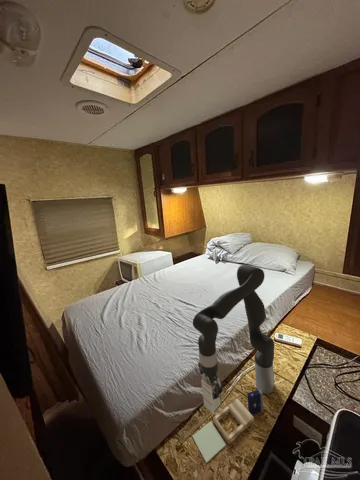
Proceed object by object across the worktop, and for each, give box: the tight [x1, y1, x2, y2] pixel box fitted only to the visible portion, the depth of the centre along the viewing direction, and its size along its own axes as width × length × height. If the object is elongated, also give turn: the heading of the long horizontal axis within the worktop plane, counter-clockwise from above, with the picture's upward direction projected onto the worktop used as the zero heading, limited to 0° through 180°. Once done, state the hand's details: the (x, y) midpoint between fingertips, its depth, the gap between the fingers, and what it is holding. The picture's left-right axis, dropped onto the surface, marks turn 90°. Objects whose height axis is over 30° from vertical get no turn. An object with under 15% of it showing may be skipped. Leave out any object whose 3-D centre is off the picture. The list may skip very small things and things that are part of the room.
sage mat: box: [192, 421, 227, 464], centre depth 89 cm, size 11×11×1 cm
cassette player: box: [247, 389, 265, 416], centre depth 97 cm, size 7×2×12 cm, turn 103°
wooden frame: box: [212, 398, 255, 445], centre depth 95 cm, size 16×11×2 cm, turn 119°
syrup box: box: [200, 376, 223, 416], centre depth 85 cm, size 6×6×14 cm
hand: (211, 390), depth 85 cm, fingers closed on syrup box, 6 cm apart
